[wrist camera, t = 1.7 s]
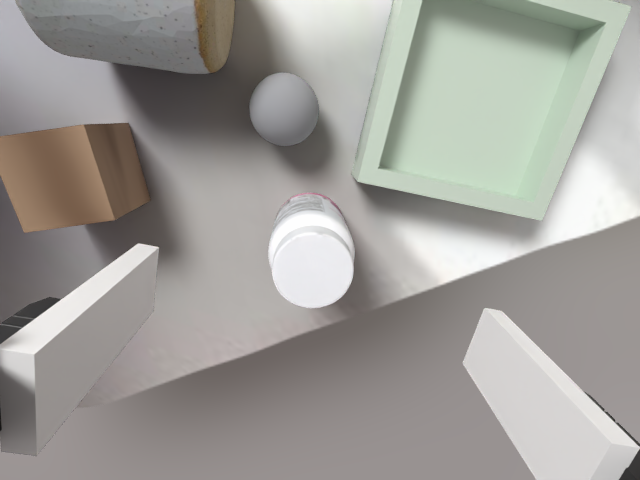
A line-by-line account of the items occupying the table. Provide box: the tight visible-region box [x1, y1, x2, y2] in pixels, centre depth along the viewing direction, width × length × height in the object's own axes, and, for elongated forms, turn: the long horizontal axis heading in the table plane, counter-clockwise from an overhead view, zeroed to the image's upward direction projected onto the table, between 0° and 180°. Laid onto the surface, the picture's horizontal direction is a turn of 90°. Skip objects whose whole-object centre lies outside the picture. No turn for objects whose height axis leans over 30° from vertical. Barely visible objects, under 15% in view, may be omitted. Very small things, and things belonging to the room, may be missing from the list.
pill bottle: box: [268, 193, 355, 308], centre depth 22 cm, size 5×5×8 cm
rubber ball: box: [249, 73, 319, 146], centre depth 21 cm, size 4×4×4 cm
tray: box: [351, 0, 632, 221], centre depth 22 cm, size 12×12×3 cm
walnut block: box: [0, 123, 151, 233], centre depth 22 cm, size 5×5×5 cm
